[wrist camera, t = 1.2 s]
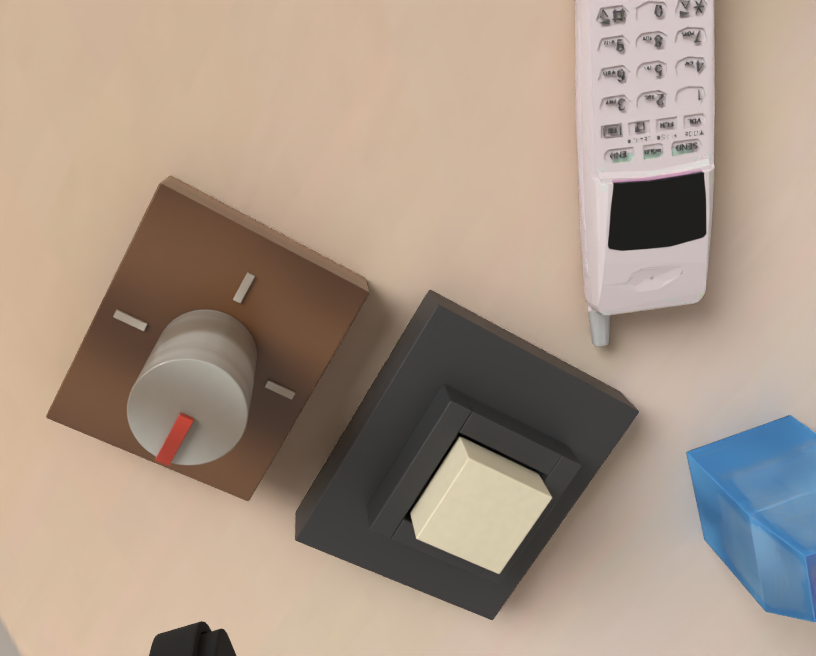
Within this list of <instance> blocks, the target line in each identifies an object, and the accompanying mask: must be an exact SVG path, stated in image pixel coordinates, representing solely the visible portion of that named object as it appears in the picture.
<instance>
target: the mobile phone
mask: <svg viewBox="0 0 816 656" xmlns="http://www.w3.org/2000/svg"><path fill="white" fill-rule="evenodd" d="M575 70H576V131H577V157H578V184H579V211H580V237H581V252H582V266H583V281H584V295H585V299H586V301H587V303H588V313H589V321H590V330H591V338H592V343H593V344H594V345H595V346H605V345H607V344H609V329H610V316H611V315H618V314H625V313H632V312H639V311H646V310H653V309H660V308H668V307H675V306H682V305H689V304H694V303H697V302H698V301H699V300H700V299H701V298H702V297H703V295H704V293H705V290H706V281H707V273H708V263H709V251H710V239H711V227H712V212H713V191H714V170H715V167H714V163H713V162H714V117H715V67H714V0H575Z"/></svg>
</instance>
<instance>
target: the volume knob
mask: <svg viewBox="0 0 816 656" xmlns="http://www.w3.org/2000/svg"><path fill="white" fill-rule="evenodd" d="M256 366H257V348H256V345H255V342H254V339H253V337H252V335H251V334H250V332H249V331H248V329H247V328H246V327H245V326H244V325H243V324H242V323H241V322H240V321H238V320H237V319H236V318H234V317H232V316H230V315H228V314H226V313H223V312H220V311H216V310H204V309H203V310H195V311H190V312H187V313H185V314H182V315H180V316H179V317H177V318H175V319H174V320H173V321H172V322H170V323H169V324H168V325H167V327H166V328H165V329H164V330H163V332H162V334H161V335H160V337H159V339H158V341H157V343H156V345H155V347H154V348H153V350H152V352H151V354H150V356H149V358H148V360H147V361H146V363H145V365H144V367H143V369H142V371H141V373H140V374H139V376H138V378H137V380H136V382H135V384H134V386H133V387H132V390H131V392H130V394H129V398H128V402H127V417H128V422H129V425H130V428H131V430H132V432H133V434H134V436H135V438H136V439H137V440H138V442H139V443H140V444H141V445H142V446H143V447H144V448H145V449H146V450H147V451H148V452H150V453H151V454H153V455H154V456H156V459H155V461H157V462H160V463H162V464H165V465H167V466H169V465H170V464H171V463H174V464H179V465H199V464H204V463H208V462H211V461H214V460H216V459H218V458H220V457H222V456H224V455H225V454H227V453H228V452H229V451H231V450H232V449H233V448H234V447H235V446H236V445H237V443H238V442H239V441H240V439H241V438H242V436H243V434H244V432H245V429H246V426H247V422H248V416H249V410H250V403H251V397H252V391H253V385H254V378H255V372H256Z"/></svg>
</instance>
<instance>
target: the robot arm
mask: <svg viewBox="0 0 816 656" xmlns="http://www.w3.org/2000/svg"><path fill="white" fill-rule="evenodd" d="M149 656H236V654H235V651H234V649H233V646H232V644H231V641H230V639H229V637H228V635H227V633H226V631H225V630H224V629H219V630H215V631H211V630H210V628H209V626H208V625H207V624H206V623H205V622H202V621H201V622H198V623H195V624H191V625H188V626H184V627H181V628H178V629H174V630H171V631H167V632H164V633H161V634H158V635H157V636H156V637H155V638H154V640H153V643H152V646H151V650H150V654H149Z"/></svg>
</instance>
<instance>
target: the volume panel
mask: <svg viewBox="0 0 816 656" xmlns="http://www.w3.org/2000/svg"><path fill="white" fill-rule="evenodd" d="M368 295H369V290H368V287H367V283H366V280H365V278H364V277H362V276H360V275H358V274H356V273H354V272H353V271H351V270H349V269H347V268H345V267H343V266H341V265H339V264H337V263H335V262H334V261H332V260H330V259H328V258H326V257H324V256H322V255H320V254H318V253H317V252H315V251H313V250H311V249H309V248H307V247H305V246H303V245H301V244H299V243H298V242H296V241H294V240H292V239H290V238H288V237H286V236H284V235H282V234H280V233H279V232H277V231H275V230H273V229H271V228H269V227H267V226H265V225H263V224H262V223H260V222H258V221H256V220H254V219H252V218H250V217H248V216H246V215H244V214H243V213H241V212H239V211H237V210H235V209H233V208H231V207H229V206H227V205H226V204H224V203H222V202H220V201H218V200H216V199H214V198H212V197H210V196H208V195H207V194H205V193H203V192H201V191H199V190H197V189H195V188H193V187H191V186H190V185H188V184H186V183H184V182H182V181H180V180H178V179H176V178H174V177H172V176H169V177H168V178H166V179H165V180H164V181H163V182H161V183H160V184H159V185H158V188H157V190H156V192H155V194H154V196H153V198H152V200H151V202H150V204H149V206H148V208H147V210H146V212H145V214H144V216H143V218H142V220H141V222H140V224H139V227H138V229H137V231H136V233H135V235H134V237H133V239H132V241H131V243H130V245H129V247H128V249H127V251H126V253H125V255H124V257H123V259H122V261H121V263H120V266H119V268H118V270H117V272H116V274H115V276H114V278H113V280H112V282H111V284H110V286H109V288H108V290H107V292H106V294H105V296H104V298H103V300H102V302H101V305H100V307H99V309H98V311H97V313H96V315H95V317H94V319H93V321H92V323H91V325H90V327H89V329H88V331H87V333H86V335H85V337H84V339H83V342H82V344H81V346H80V348H79V350H78V352H77V354H76V356H75V358H74V360H73V362H72V364H71V366H70V368H69V370H68V372H67V374H66V376H65V378H64V381H63V383H62V385H61V387H60V389H59V391H58V393H57V395H56V397H55V399H54V401H53V403H52V405H51V407H50V409H49V411H48V413H47V415H46V417H47V418H48V419H51V420H53V421H55V422H58V423H60V424H63V425H65V426H67V427H70V428H72V429H75V430H77V431H80V432H82V433H84V434H87V435H89V436H92V437H94V438H96V439H99V440H101V441H104V442H106V443H109V444H111V445H113V446H116V447H118V448H121V449H123V450H125V451H128V452H130V453H133V454H135V455H138V456H140V457H142V458H145V459H147V460H150V461H152V462H154V463H157V464H159V465H162V466H164V467H167V468H169V469H171V470H174V471H176V472H179V473H181V474H183V475H186V476H188V477H191V478H193V479H196V480H198V481H200V482H203V483H205V484H208V485H210V486H212V487H215V488H217V489H220V490H222V491H225V492H227V493H229V494H232V495H234V496H237V497H239V498H241V499H244V500H246V501H249V500H250V498H251V497H252V495H253V493H254V492H255V490H256V488H257V486H258V485H259V483H260V481H261V479H262V478H263V476H264V474H265V473H266V471H267V469H268V467H269V466H270V464H271V462H272V460H273V459H274V457H275V455H276V454H277V452H278V450H279V448H280V447H281V445H282V443H283V441H284V440H285V438H286V436H287V435H288V433H289V431H290V429H291V428H292V426H293V424H294V422H295V421H296V419H297V417H298V416H299V414H300V412H301V410H302V409H303V407H304V405H305V403H306V402H307V400H308V398H309V397H310V395H311V393H312V391H313V390H314V388H315V386H316V384H317V383H318V381H319V379H320V378H321V376H322V374H323V372H324V371H325V369H326V367H327V365H328V364H329V362H330V360H331V359H332V357H333V355H334V353H335V352H336V350H337V348H338V347H339V345H340V343H341V341H342V340H343V338H344V336H345V334H346V333H347V331H348V329H349V328H350V326H351V324H352V322H353V321H354V319H355V317H356V315H357V314H358V312H359V310H360V309H361V307H362V305H363V303H364V302H365V300H366V298H367V296H368ZM203 309H204V310H216V311H220V312H223V313H226V314H228V315H230V316H232V317H234V318H236V319H237V320H238V321H240V322H241V323H242V324H243V325H244V326H245V327H246V328H247V329H248V331H249V332H250V334H251V335H252V337H253V339H254V342H255V345H256V348H257V366H256V372H255V378H254V385H253V391H252V397H251V403H250V410H249V416H248V422H247V426H246V429H245V432H244V434H243V436H242V438H241V439H240V441H239V442H238V443H237V445H236V446H235V447H234V448H233V449H232V450H231V451H229V452H228V453H227V454H225V455H224V456H222V457H220V458H218V459H216V460H214V461H211V462H208V463H204V464H199V465H179V464H174V463H171V464H170V465H169V466H167V465H165V464H162V463H160V462H157V461H155V459H156V456H154V455H153V454H151V453H150V452H148V451H147V450H146V449H145V448H144V447H143V446H142V445H141V444H140V443H139V442H138V440H137V439H136V438H135V436H134V434H133V432H132V430H131V428H130V425H129V422H128V417H127V402H128V398H129V394H130V392H131V390H132V387H133V386H134V384H135V382H136V380H137V378H138V376H139V374H140V373H141V371H142V369H143V367H144V365H145V363H146V361H147V360H148V358H149V356H150V354H151V352H152V350H153V348H154V347H155V345H156V343H157V341H158V339H159V337H160V335H161V334H162V332H163V330H164V329H165V328H166V327H167V325H168V324H169V323H170V322H172V321H173V320H174V319H175V318H177V317H179V316H180V315H182V314H185V313H187V312H190V311H195V310H203Z"/></svg>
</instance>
